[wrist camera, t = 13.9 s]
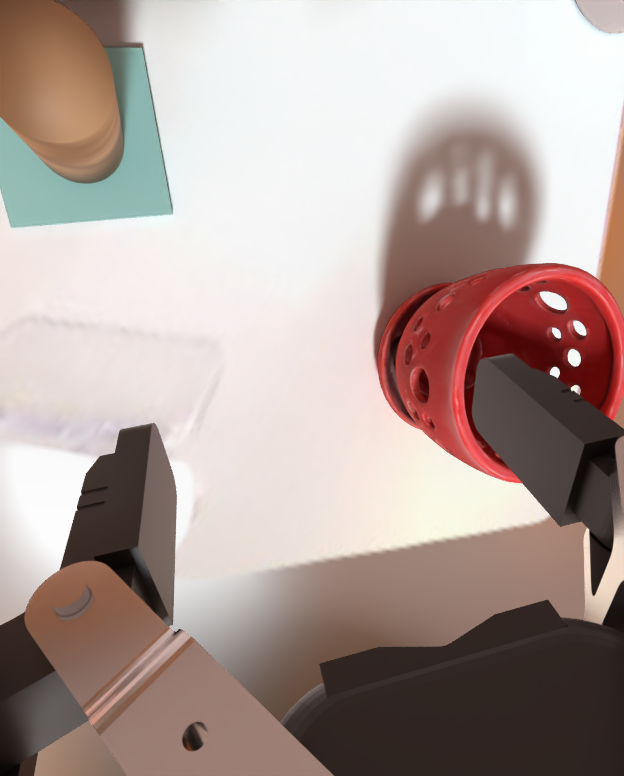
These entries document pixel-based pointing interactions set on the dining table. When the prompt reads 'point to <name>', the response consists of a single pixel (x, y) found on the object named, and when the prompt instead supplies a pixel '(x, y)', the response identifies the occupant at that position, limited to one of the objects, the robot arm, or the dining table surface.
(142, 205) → the teal pad
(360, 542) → the dining table surface
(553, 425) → the robot arm
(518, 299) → the plant pot
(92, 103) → the roller
